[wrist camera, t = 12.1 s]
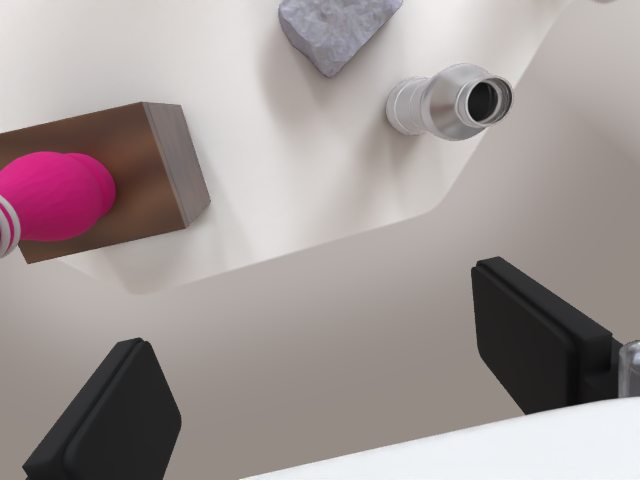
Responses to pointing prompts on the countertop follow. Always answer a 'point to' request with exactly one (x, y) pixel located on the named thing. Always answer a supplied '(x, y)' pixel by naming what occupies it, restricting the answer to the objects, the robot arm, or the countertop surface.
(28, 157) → the pepper mill
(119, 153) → the shelf
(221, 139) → the countertop surface
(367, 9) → the stone block
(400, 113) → the silver metal bottle
